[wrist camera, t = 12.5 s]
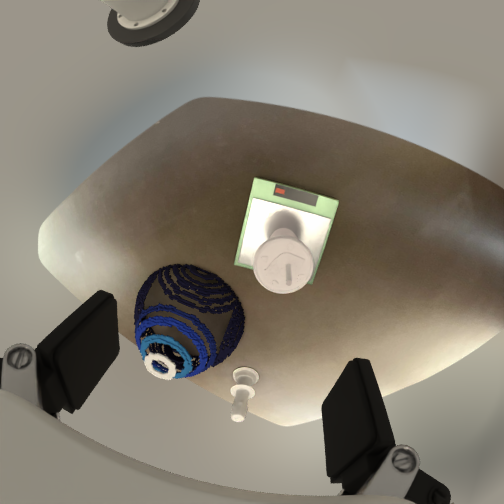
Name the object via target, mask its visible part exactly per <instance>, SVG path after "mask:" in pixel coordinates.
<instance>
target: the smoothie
mask: <svg viewBox="0 0 504 504" xmlns="http://www.w3.org/2000/svg"><path fill="white" fill-rule="evenodd" d="M253 269H254V274H255V276H256V278H257V280H258V281H259V283H260V284H261V285H262V286H263V287H265V288H266V289H268V290H270V291H272V292H275V293H281V294H285V293H291V292H294V291H297V290H299V289H300V288H302V287H303V286H304V285H305V284H306V283H307V282H308V281H309V279H310V277H311V275H312V271H313V259H312V254H311V252H310V250H309V248H308V247H307V246H306V245H305V244H304V243H303V242H302V241H301V240H299V239H298V238H297V236H296V235H295V234H294V232H293V231H291V230H290V229H287V228H279V229H277V230H275V231H274V232H273V233H272V235H271V236H270V237H269V239H267V240H265V241H264V242H263V243H262V244H261V245H260V246H259V248H258V249H257V251H256V253H255V256H254V263H253Z"/></svg>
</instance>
